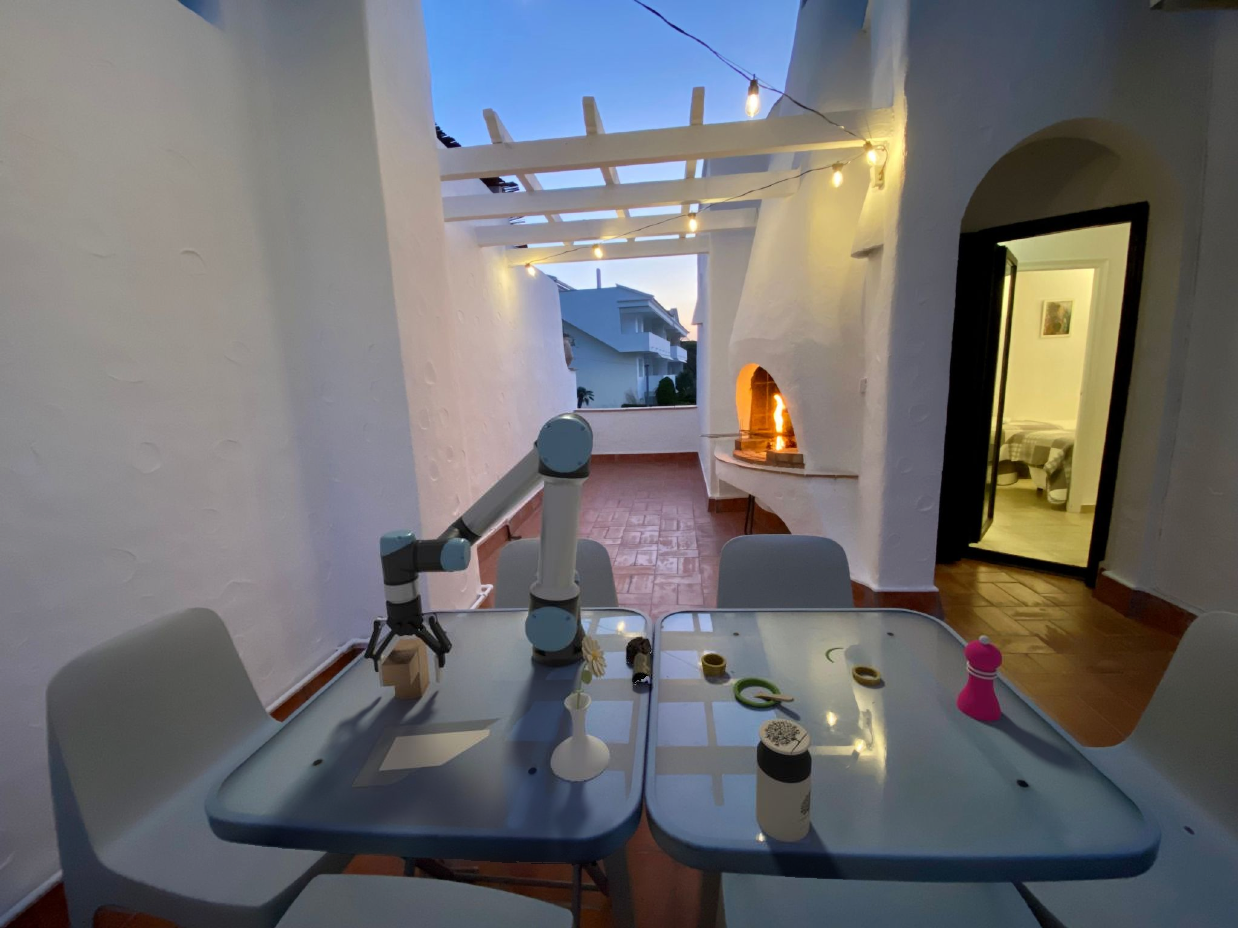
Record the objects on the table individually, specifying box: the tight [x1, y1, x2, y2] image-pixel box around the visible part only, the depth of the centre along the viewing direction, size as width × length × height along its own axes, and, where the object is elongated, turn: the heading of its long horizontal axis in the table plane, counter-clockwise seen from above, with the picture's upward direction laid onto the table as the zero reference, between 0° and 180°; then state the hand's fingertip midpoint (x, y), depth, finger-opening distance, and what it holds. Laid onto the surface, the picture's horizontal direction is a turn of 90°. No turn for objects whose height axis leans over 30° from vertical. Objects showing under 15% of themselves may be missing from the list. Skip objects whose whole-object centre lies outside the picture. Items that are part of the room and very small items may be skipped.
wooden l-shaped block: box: [381, 637, 431, 701], centre depth 115 cm, size 6×12×12 cm, turn 4°
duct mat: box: [350, 717, 502, 789], centre depth 98 cm, size 26×16×1 cm, turn 94°
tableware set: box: [700, 647, 882, 708], centre depth 116 cm, size 41×28×6 cm
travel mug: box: [755, 718, 813, 843], centre depth 76 cm, size 8×8×18 cm
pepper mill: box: [956, 634, 1003, 722], centre depth 99 cm, size 7×7×20 cm
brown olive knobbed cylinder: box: [625, 636, 653, 685], centre depth 124 cm, size 18×7×6 cm, turn 176°
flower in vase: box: [550, 634, 611, 782], centre depth 92 cm, size 13×11×25 cm
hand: (412, 681), depth 118 cm, fingers open, 12 cm apart
